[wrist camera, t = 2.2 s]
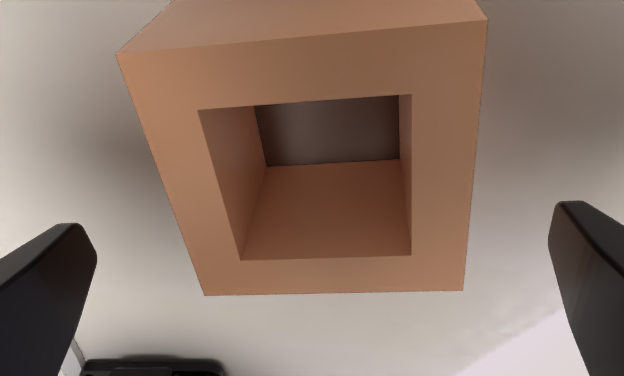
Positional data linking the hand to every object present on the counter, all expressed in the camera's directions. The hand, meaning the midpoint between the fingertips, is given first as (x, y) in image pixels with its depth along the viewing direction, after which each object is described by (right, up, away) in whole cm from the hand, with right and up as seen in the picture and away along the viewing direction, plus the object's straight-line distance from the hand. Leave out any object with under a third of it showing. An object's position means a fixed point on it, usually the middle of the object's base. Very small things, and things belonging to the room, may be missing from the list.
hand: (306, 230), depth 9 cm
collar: (0, +3, +4) cm, 5 cm away
